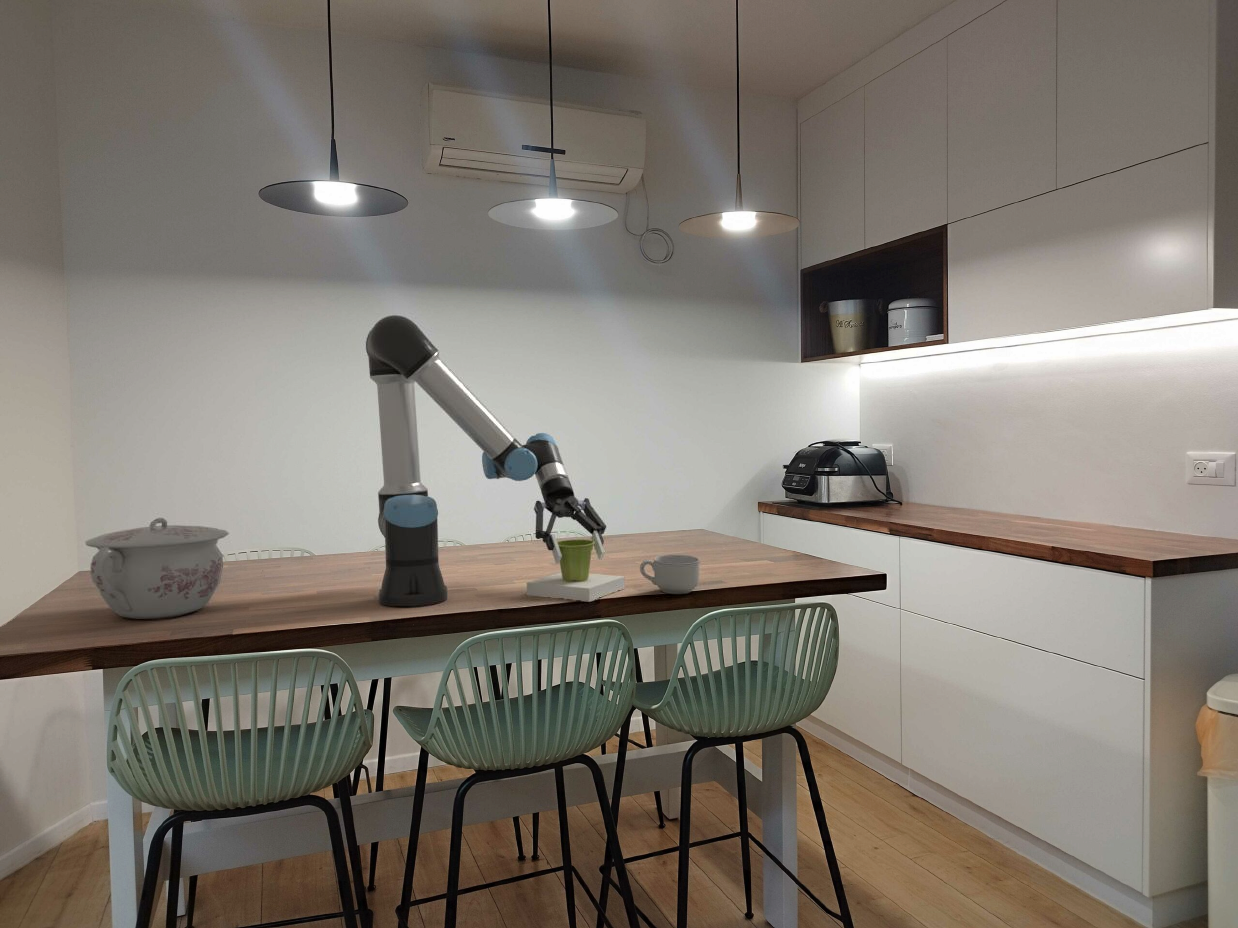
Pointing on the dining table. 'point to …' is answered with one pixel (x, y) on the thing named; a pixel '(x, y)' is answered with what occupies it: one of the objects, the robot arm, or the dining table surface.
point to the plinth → (575, 587)
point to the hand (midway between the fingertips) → (580, 558)
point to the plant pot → (575, 559)
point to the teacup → (674, 573)
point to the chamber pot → (157, 569)
